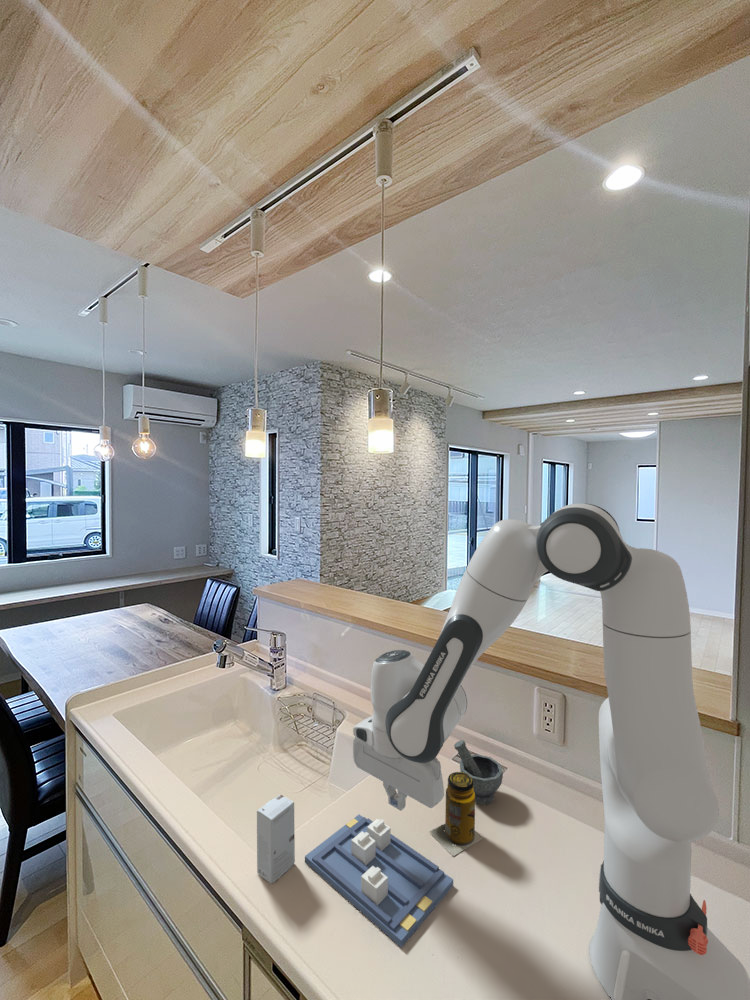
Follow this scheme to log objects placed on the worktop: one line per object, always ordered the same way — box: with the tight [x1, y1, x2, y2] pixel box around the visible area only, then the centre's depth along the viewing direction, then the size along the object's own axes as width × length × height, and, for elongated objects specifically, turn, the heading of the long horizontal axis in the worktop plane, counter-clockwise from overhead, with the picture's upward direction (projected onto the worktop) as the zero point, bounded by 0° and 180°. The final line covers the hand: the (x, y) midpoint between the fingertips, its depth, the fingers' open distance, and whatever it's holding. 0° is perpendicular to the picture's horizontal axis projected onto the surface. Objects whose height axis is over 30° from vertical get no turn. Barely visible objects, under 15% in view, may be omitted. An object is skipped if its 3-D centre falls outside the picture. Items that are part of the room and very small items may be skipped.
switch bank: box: [304, 813, 454, 948], centre depth 86 cm, size 24×15×2 cm, turn 48°
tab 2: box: [351, 831, 376, 865], centre depth 88 cm, size 4×3×4 cm
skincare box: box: [256, 794, 296, 885], centre depth 87 cm, size 6×4×12 cm
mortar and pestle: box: [453, 739, 504, 806], centre depth 107 cm, size 11×9×12 cm
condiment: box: [429, 771, 485, 857], centre depth 95 cm, size 7×8×12 cm
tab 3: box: [361, 866, 388, 906], centre depth 80 cm, size 4×3×4 cm
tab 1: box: [367, 818, 392, 851], centre depth 91 cm, size 4×3×4 cm
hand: (397, 805), depth 88 cm, fingers closed
